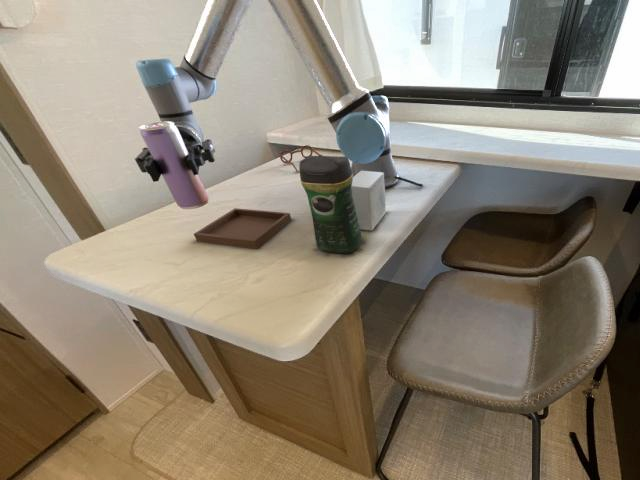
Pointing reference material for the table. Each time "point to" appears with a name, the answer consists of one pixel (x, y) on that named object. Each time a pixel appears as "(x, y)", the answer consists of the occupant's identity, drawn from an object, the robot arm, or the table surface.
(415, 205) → the table surface
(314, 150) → the glasses
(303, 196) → the table surface
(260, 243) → the tray
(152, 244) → the table surface
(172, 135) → the beverage can
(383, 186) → the cosmetics box
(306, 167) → the coffee jar
